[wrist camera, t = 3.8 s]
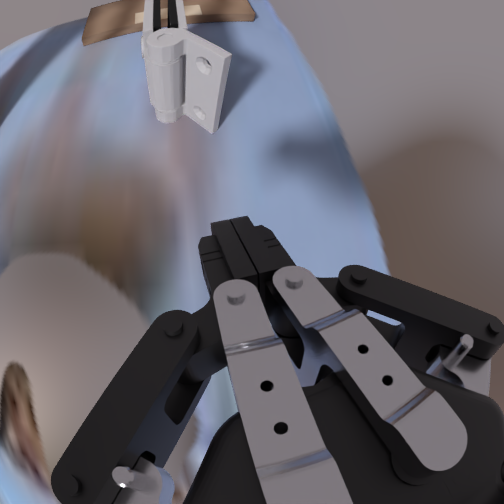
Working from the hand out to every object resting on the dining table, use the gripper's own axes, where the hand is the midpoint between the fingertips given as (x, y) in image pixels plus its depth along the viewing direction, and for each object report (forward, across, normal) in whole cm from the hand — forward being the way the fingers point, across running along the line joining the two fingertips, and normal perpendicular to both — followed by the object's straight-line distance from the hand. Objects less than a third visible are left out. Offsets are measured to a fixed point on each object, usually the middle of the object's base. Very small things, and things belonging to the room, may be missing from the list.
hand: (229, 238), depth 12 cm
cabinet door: (+35, 0, -19) cm, 40 cm away
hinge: (+22, 0, -5) cm, 22 cm away
